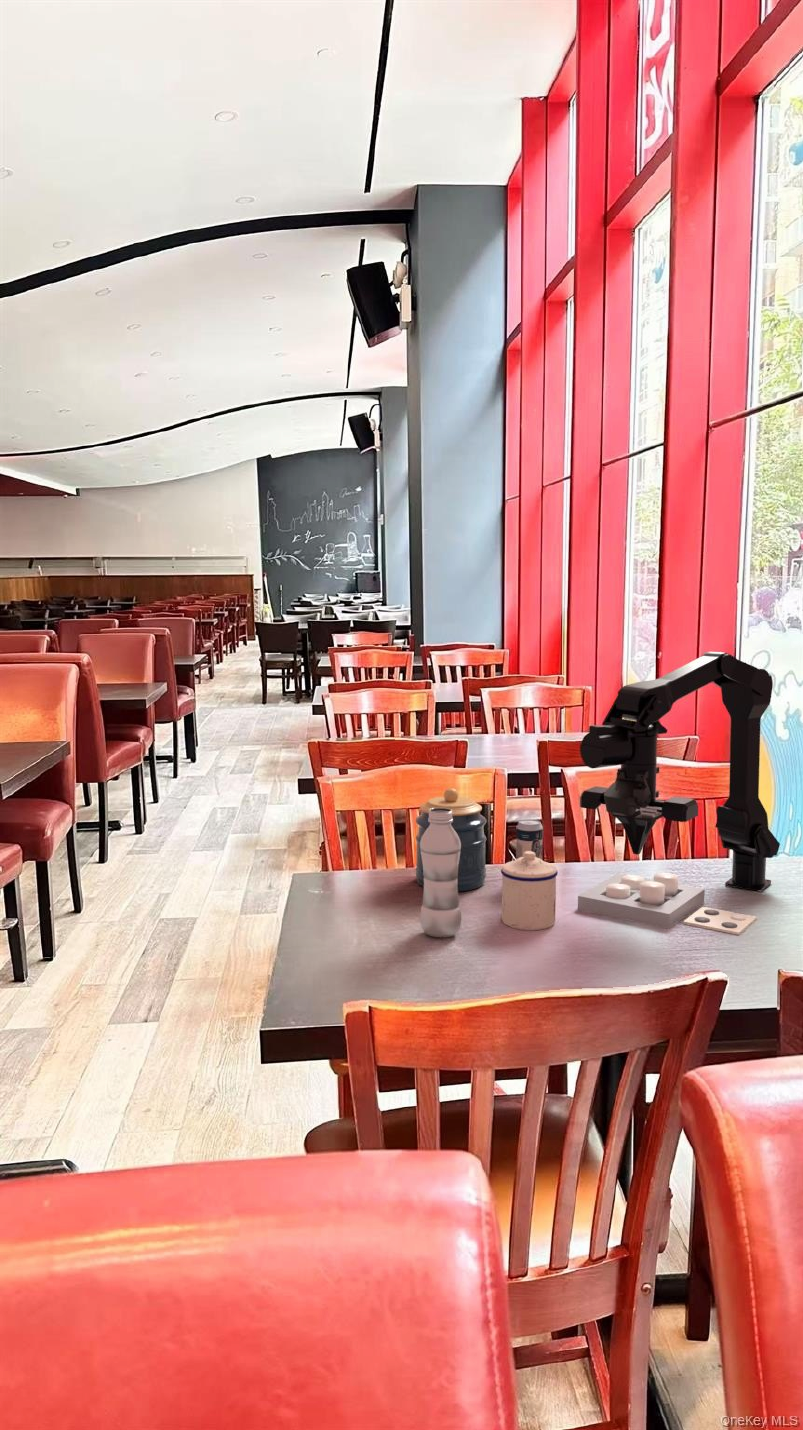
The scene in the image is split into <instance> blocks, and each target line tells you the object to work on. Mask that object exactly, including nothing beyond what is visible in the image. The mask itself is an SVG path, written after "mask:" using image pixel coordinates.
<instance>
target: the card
mask: <svg viewBox="0 0 803 1430" xmlns="http://www.w3.org/2000/svg"><path fill="white" fill-rule="evenodd" d="M757 920H758V917H757V916H753V915H748V914H744V913H743V914H742V913H737V912H731V911H727V910H723V909H718V908H712V907H706V906H702V907H700V908H698V910H696V911H695V912H694V913H691V915H689V916H688V917H687V918H686V919H684V920H683V922H682V923H683V925H688V926H693V927H698V928H702V929H703V928H704V929H707V930H713V931H717V932H722V933H728V934H733V935H738V936H740V935H741V934H742V933H743V932H744V931H746V929H748V928H750V926H751V925H752V924H753V923H755V922H756V921H757Z"/></svg>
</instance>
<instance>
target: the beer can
mask: <svg viewBox="0 0 803 1430" xmlns="http://www.w3.org/2000/svg"><path fill="white" fill-rule="evenodd" d="M515 827H516V841H515V843H516V849H515V851H516V852H515V853H516V856H515V857H516V858H515V860H516V859H518V858H520V857H523V853H524V852H526V851H532V852H534V853H535V854H536V858H539V859H541V860H543V832H544V831H543V829H544V827H543V825H542V823H541V821H540V820H536V819H522V820H519V821H518V823H517V825H516V826H515Z"/></svg>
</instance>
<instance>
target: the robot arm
mask: <svg viewBox="0 0 803 1430" xmlns="http://www.w3.org/2000/svg"><path fill="white" fill-rule="evenodd" d="M711 683H712V684H714V685H715V686H717V687H719V688H720V690H721V701H722V704H723V705H724V707H725V709H726V711H727V712H728V715H729V717H730V741H729V742H730V743H729V745H730V746H729V749H730V750H729V757H730V758H729V783H728V784H729V788H728V789H729V791H728V792H729V793H728V798H727V799H726V800H725V802H724V803H723V805H718V806H717V807H716V823H715V828H717V833H718V836H719V837H720V842H721V845H722V848H723V849H728V850H731V851H732V867H731V868H732V869H731V871H732V872H731V873H732V874H731V878H729V879H728V880H727V881H725V884H724V885H725V886H729V887H735V888H740V889H745V890H752V891H757V892H763V891H764V890H765V889H766V888H767V887H769V885H770V884H772V880H771V879H766V873H767V872H766V869H767V859H771V858H772V859H773V857H775V856H777V855H778V853H779V849H780V846H781V844H780V842H779V840H777V838H776V837H775V836H774V834H773V833H772V832H771V830H770V829H769V822H768V820H769V819H768V813H767V811H766V808H765V807H764V805H763V803H762V801H761V800H760V796H759V793H760V791H759V790H760V787H759V786H760V759H761V758H760V754H761V752H760V751H761V723H762V722H761V720H762V717H763V715H764V713H765V712H766V710H767V709H768V707H769V706H770V704H771V701H772V692H773V684H774V682H773V678H772V675H771V674H770V673H769V672H768V670H766V669H764V668H758V667H756V666H754V665H751V664H749V663H746V662H745V661H742V660H739V659H738V658H736V657H734V656H733V655H732V654H730V653H728V652H721V651H720V652H719V651H707V652H705V653H703V654H702V655H701V656H700V657H697V658H696V659H694V660H692V661H690V662H689V663H686V664H684V665H683V666H680V667H678V668H676V669H674V670H672V671H670V672H669V673H666V674H664V675H663V676H660V677H659V678H656V679H651V680H645V681H637V682H633V683H630V684H626V685H624V686H622V687H621V688H620V689H618V691H617V696H616V698H615V700H614V702H613V704H612V705H611V707H610V708H609V710H608V712H607V714H606V716H605V718H604V719H603V722H602V723H601V725H597V724H593V725H589V728H588V733H586V734H585V735H584V737H583V738H582V740H581V744H579V754H580V757H581V760H582V762H583V764H584V765H585V766H587V768H590V769H599V768H607V767H608V768H609V767H614V766H620V768H617V772H616V778H615V781H614V782H613V783H612V784H611V785H610V786H609V787H604V786H595V785H594V786H593V787H591V788H587V789H585V790H582V792H581V794H580V796H579V807H580V808H582V809H589V810H597V809H598V808H600V806H602V805H605V809H606V812H607V813H608V814H610V815H611V817H613V818H616V819H617V820H618V821H619V822H620V823H621V825H622V826H623V829H624V831H625V834H626V838H627V839H628V843H629V846H630V848H631V851H632V854H633V855H636V856H638V855H640V854H641V852H642V850H643V848H644V845H645V843H646V841H647V839H648V837H649V835H650V833H651V830H652V829H653V827H654V825H655V823H656V822H657V821H658V820H659V819H661V818H664V819H665V821H672V822H679V823H687V822H688V821H691V820H692V819H694V818H697V817H698V816H699V804H698V802H697V800H696V799H695V798H689V797H682V796H681V797H680V796H673V797H670V798H669V799H666V800H660V799H659V800H658V798H659V796H660V794H659V793H660V790H657V775H658V774H659V773H660V766H658V765H657V762H658V761H657V759H658V757H657V756H658V750H657V749H658V735H662V734H667V733H668V729H667V728H666V727H665V726H664V725H663V724H661V722H660V720H661V719H663V718H664V717H665V716H666V715H667V714H668V713H669V712H670V711H671V709H672V708H673V705H674V704H675V703H676V702H677V701H678V700H681V699H683V698H684V697H686V696H688V695H690V694H691V693H695V691H697V690H698V691H699V689H701V688H704V687H705V686H707V685H708V684H711Z"/></svg>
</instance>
